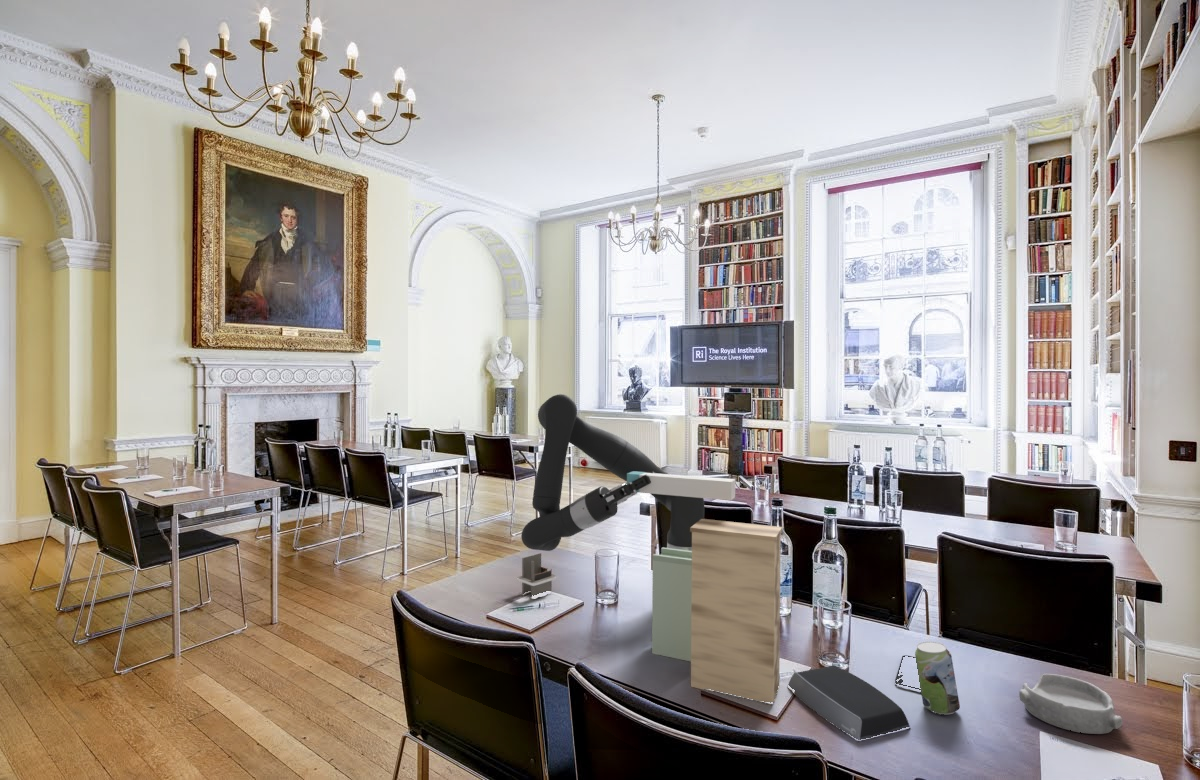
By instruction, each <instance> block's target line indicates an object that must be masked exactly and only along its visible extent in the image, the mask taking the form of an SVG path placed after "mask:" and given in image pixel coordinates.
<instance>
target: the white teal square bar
mask: <svg viewBox="0 0 1200 780" xmlns="http://www.w3.org/2000/svg"><path fill="white" fill-rule="evenodd" d="M644 475H648V477H649V479H650V481H651V483H650V484H648V485H646V486H644V487H642V488H641V489H639V490H637V489H636V490H637V491H636V492H637V493H640V494H650V493H651V494H662V495H674V496H685V497H697V498H703V499H710V500H722V501H732V500H734V499H736V478H728V477H727V478H725V477H724V478H723V477H711V476H699V475H698V476H697V475H687V474H686V475H683V474H670V473H668V474H658V473H645V472H637V471H633V472H630V473H627V481H626V483H627V484H628V483H629V482H630V481H631V482H633V481H635V480H636V479H638V478H640V477H642V476H644ZM651 494H650V495H651Z"/></svg>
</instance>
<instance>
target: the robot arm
mask: <svg viewBox="0 0 1200 780" xmlns="http://www.w3.org/2000/svg"><path fill="white" fill-rule="evenodd" d="M537 418H538V422H539V424H540V425H541V427H542V429H544V431H545V433H544V434H545V435H544V443H543V449H542V454H541V457H540V461H539V464H538V467H537V472H536V475H535V480H534V481H535V482H534V487H533V488H534V489H533V495H532V496H533V497H532V501H531V503H532V504H531V505H532V508H533V509H534V510H536V511H537V512H538V514H539V516H538V517H536V518H534V519H531V520H530V521H529V522H527V524H525V526H524V527H523V529H522V531H521V535H520V536H521V541H522V543H523V545H524V546H525V547H526V548H528V549H530V550H536V551H545V552H547V551H548V552H550V551H554V550H555V549H556V548H557V547H558V546H559V544H560V543H561V540H562V538H570V537H572V536H574V535H577V534H578V533H580V532H582V531H585V530H587V529H589V528H593V527H594V526H596V525H599V524H600V523H602V522H605V521H606V520H608V519H611V518H612V517H614V516H616V514H617V513H618V510H619V509H618V505H620V504H622V503H624V502H626V501H628V500H629V498H632V497H633V496H635V495H637V494H638V492H636V491H637V490H639V489H641V488H642V487H644V486H646V485H648V484H650V483H651V481H650V479H649V477H648V475H644V476H642V477H640V478H638V479H636V480H635V481H633V482H631V481H630V482H629V483H628V484H627V473H630V472H633V471H637V472H645V473H658V474H669V473H668V472H666V471H664V470H663V469H661V468H660V467H659V466H658V465H656V464H655V463H654V462H653V461H652V460H651V459H650V457H648V455H646V454H645V453H644V452H643V451H641V450H640V449H638V448H637V447H636V446H635V445H633V444H631V443H630V442H628V441H627V440H626V439H624V438H623V437H620V436H618V435H617V434H614V433H612V432H609V431H606V430H604V429H602V428H598V427H596V426H594V425H591V424H590V423H588V422H587V421H586V420H584V419H583V418H581V417H580V416H578V408H577V404H576V403H575V401H574V400H573V398H571V397H570V396H569V395H566V394H561V393H559V394H555V395H552V396H551V397H549V398H548V399H547V400H546V401H544V403H543V402H542V404H541V405H540V407H539V408H538V412H537ZM569 444H571V445H573V446H574V447H576V448H578V450H580V451H582V453H584V454H586V455H587V456H588V457H589V458H591V459H592V460H594V461H595V462H597V463H598V464H599V465H600V466H602V467H604V468H605V469H606V470H608V471H609V472H611V473H612V474H614V475H615V476H616V477H618V478H620V479H621V480H624V481H625V482H624V483H622V484H620V485H617V486H615V487H612V488H610V489H609V488H607V487H606V486H605V485H602V486H599V487H597V488H595V489H594V490H592V491H590V492H587V493H586V494H584V495H582V496H581V497H579V498H577V499H575V501H573V502H571V503H570V504H567V505H566V506H564V507H562V508H560V504H561V497H562V492H563V491H562V490H563V483H564V473H565V466H566V459H567V453H568V448H569ZM636 489H637V490H636ZM649 494H650V495H651V496H652V497H654V498H655V499H656V500H657V501H658V502H660V503H661V504H662V505H663V506H665V508H666V509H667V510H668V511H670V526H669V527H670V528H669V529H668V532H667V534H666V535H667V536H666V548H672V549H680V550H688V551H692V532H690V527H692V526H693V525H694V524H695V523H697V522H698V521H699V520H701V519H705V500H704V499H705V498H697V497H685V496H674V495H662V494H651V493H649Z"/></svg>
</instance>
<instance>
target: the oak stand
mask: <svg viewBox="0 0 1200 780" xmlns="http://www.w3.org/2000/svg"><path fill="white" fill-rule="evenodd" d="M690 532H692V604H691V661H690V687H692V688H695V689H699V690H700V689H701V690H704V689H711V690H714V691H719V692H723V693H728V694H732V695H736V696H741V697H744V698H749V699H753V700H757V701H764V702H770V703H771V702H774V703H775V701H774V699H775V700H776V698H775V696H776V697H777V694H778V691H779V688H778V686H779V687H780V656H781V655H780V654H781V653H780V651H781V649H780V648H781V647H780V645H781V643H780V642H781V641H780V639H781V635H780V634H781V633H780V630H781V629H780V628H781V623H780V621H781V541H782V540H781V539H782V538H781V537H782V535H781V534H782V532H783V526H775V525H764V524H757V523H745V522H736V521H735V522H734V521H726V520H715V519H707V518H704V519H701V520H699V521H698V522H697V523H695V524H694V525H693V526H692V527H690ZM777 690H778V691H777ZM776 693H777V694H776ZM744 698H743V699H744ZM753 700H752V701H753ZM757 701H756V702H757Z"/></svg>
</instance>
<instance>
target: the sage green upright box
mask: <svg viewBox="0 0 1200 780" xmlns="http://www.w3.org/2000/svg"><path fill="white" fill-rule="evenodd" d="M660 550H661V551H660V552H661V553H660V554H657V553H653V554H652V604H651V605H652V606H651V607H652V608H651V609H652V615H651V616H652V619H651V622H652V625H651V626H652V629H651V630H652V634H651V639H652V640H651V651H652V652H651V654H652V655H658V656H664V657H668V658H673V659H677V660H681V661H683V660H684V661H687V662H691V604H692V551H688V550H680V549H672V548H667V547H664V546H663V547H661V549H660Z"/></svg>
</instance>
